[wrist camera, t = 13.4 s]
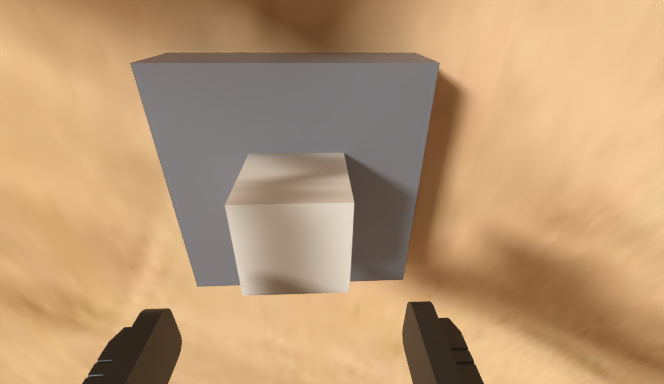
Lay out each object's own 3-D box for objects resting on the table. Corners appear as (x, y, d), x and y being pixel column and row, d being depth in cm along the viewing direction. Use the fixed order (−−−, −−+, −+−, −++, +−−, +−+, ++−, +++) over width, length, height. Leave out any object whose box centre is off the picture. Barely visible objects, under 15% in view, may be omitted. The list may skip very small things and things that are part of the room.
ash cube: (343, 152, 16) (354, 202, 12) (341, 228, 19) (349, 292, 15) (248, 153, 16) (224, 205, 12) (258, 230, 19) (242, 295, 14)
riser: (415, 53, 18) (439, 62, 14) (390, 242, 25) (403, 279, 21) (167, 52, 17) (130, 63, 14) (214, 247, 24) (197, 286, 21)
